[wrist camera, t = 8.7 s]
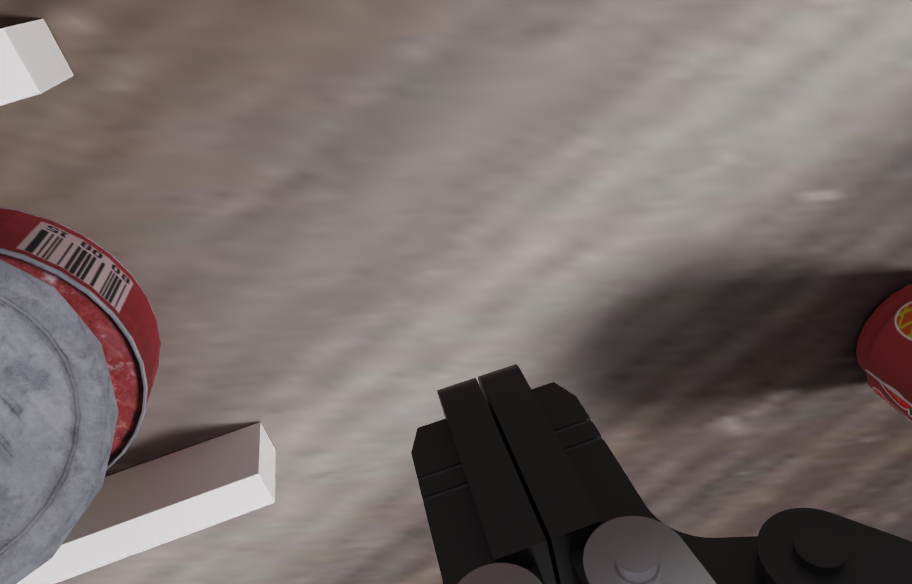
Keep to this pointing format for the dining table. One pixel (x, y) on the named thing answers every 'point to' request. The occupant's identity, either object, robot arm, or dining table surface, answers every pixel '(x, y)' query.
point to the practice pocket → (166, 478)
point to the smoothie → (889, 350)
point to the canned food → (63, 380)
